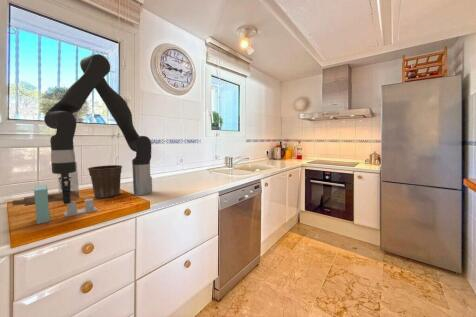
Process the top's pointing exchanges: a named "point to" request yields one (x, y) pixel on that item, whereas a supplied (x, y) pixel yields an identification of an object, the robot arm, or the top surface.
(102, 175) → the plant pot
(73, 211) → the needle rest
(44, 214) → the teal rectangular frame
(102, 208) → the top surface
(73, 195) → the needle
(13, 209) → the top surface
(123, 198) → the top surface
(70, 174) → the milk
